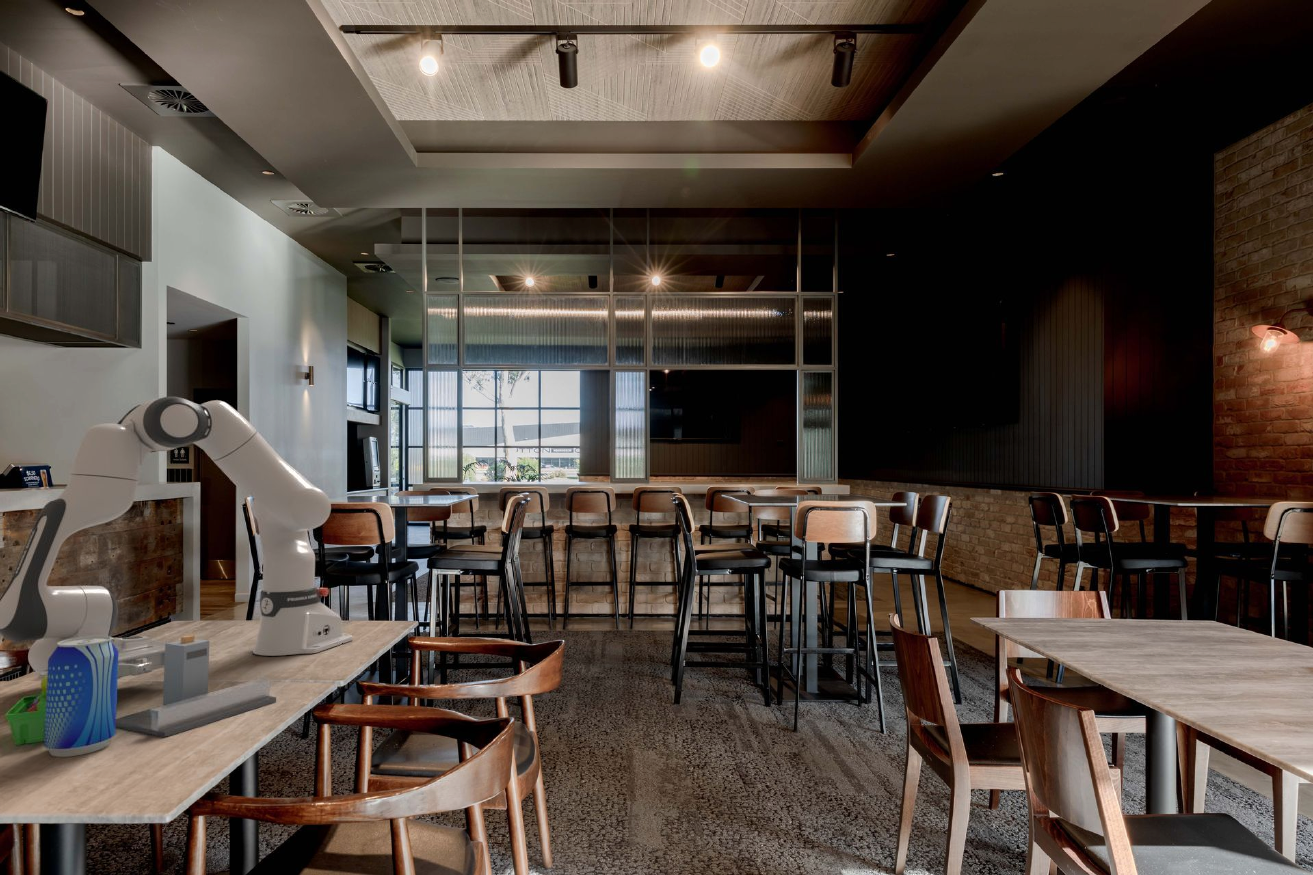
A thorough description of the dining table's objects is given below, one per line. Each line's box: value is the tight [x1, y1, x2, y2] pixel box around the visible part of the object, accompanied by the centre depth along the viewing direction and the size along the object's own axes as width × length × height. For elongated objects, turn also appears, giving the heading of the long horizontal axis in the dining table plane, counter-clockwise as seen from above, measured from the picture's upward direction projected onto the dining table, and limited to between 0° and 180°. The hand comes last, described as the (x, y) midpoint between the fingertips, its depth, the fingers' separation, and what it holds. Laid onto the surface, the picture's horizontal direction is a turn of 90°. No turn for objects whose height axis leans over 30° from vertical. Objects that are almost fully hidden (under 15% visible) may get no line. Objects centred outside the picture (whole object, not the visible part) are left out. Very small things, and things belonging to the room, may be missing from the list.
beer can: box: [43, 636, 119, 758], centre depth 111 cm, size 8×8×16 cm
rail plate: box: [116, 678, 277, 738], centre depth 127 cm, size 20×14×4 cm
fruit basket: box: [4, 676, 47, 746], centre depth 117 cm, size 11×9×11 cm
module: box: [162, 634, 210, 706], centre depth 128 cm, size 4×5×12 cm
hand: (144, 669), depth 133 cm, fingers closed
